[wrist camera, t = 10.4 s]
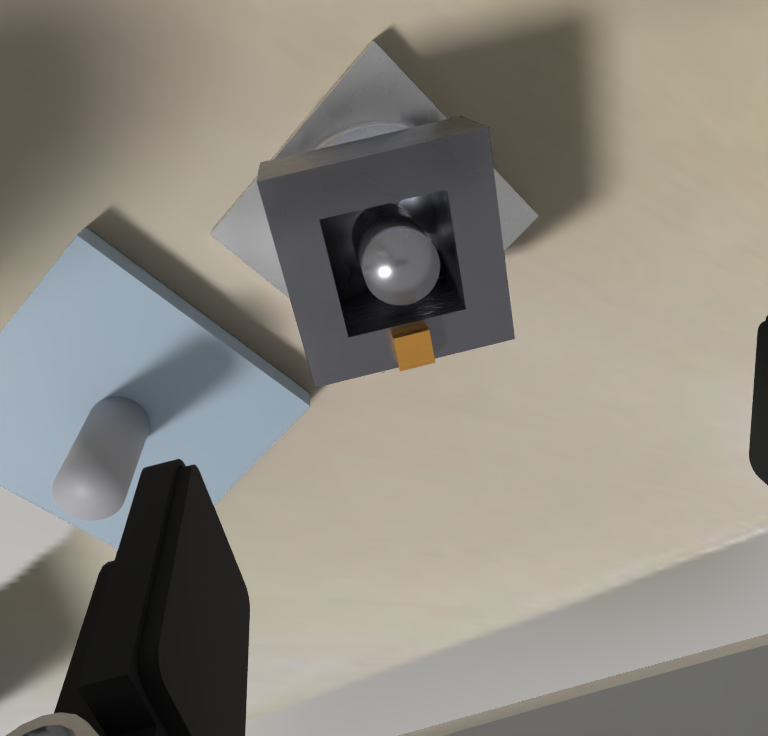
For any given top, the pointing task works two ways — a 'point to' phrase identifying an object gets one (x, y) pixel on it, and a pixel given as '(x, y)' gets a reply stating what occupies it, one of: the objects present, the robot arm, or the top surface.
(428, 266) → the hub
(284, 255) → the grey square socket block
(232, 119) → the top surface
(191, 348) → the stand
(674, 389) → the top surface
